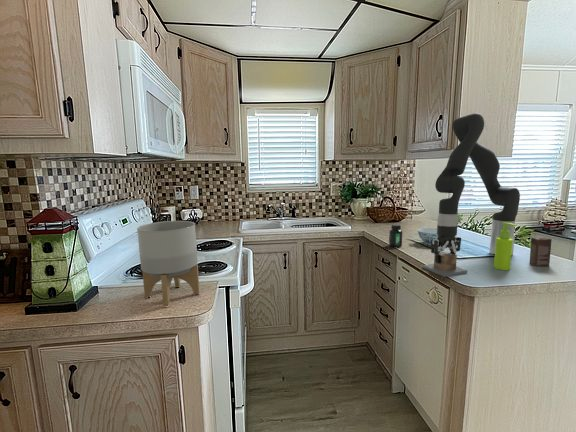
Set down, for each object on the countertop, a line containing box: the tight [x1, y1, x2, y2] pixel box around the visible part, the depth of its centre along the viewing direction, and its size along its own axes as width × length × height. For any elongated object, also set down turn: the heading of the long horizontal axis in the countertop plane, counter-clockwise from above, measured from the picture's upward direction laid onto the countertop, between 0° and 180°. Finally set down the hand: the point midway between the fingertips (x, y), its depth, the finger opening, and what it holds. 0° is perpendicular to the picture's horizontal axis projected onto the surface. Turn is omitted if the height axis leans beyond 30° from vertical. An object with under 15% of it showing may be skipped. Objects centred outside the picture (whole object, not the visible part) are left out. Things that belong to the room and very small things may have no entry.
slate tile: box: [422, 263, 468, 278], centre depth 135 cm, size 12×12×1 cm
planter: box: [136, 220, 201, 307], centre depth 112 cm, size 19×19×26 cm
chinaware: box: [417, 227, 438, 246], centre depth 179 cm, size 15×15×8 cm
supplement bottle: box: [388, 223, 403, 249], centre depth 174 cm, size 7×7×12 cm
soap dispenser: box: [493, 223, 518, 271], centre depth 135 cm, size 6×7×20 cm
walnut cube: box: [433, 251, 458, 271], centre depth 134 cm, size 6×6×6 cm
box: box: [529, 237, 552, 267], centre depth 139 cm, size 6×4×12 cm
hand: (444, 262), depth 135 cm, fingers open, 6 cm apart
